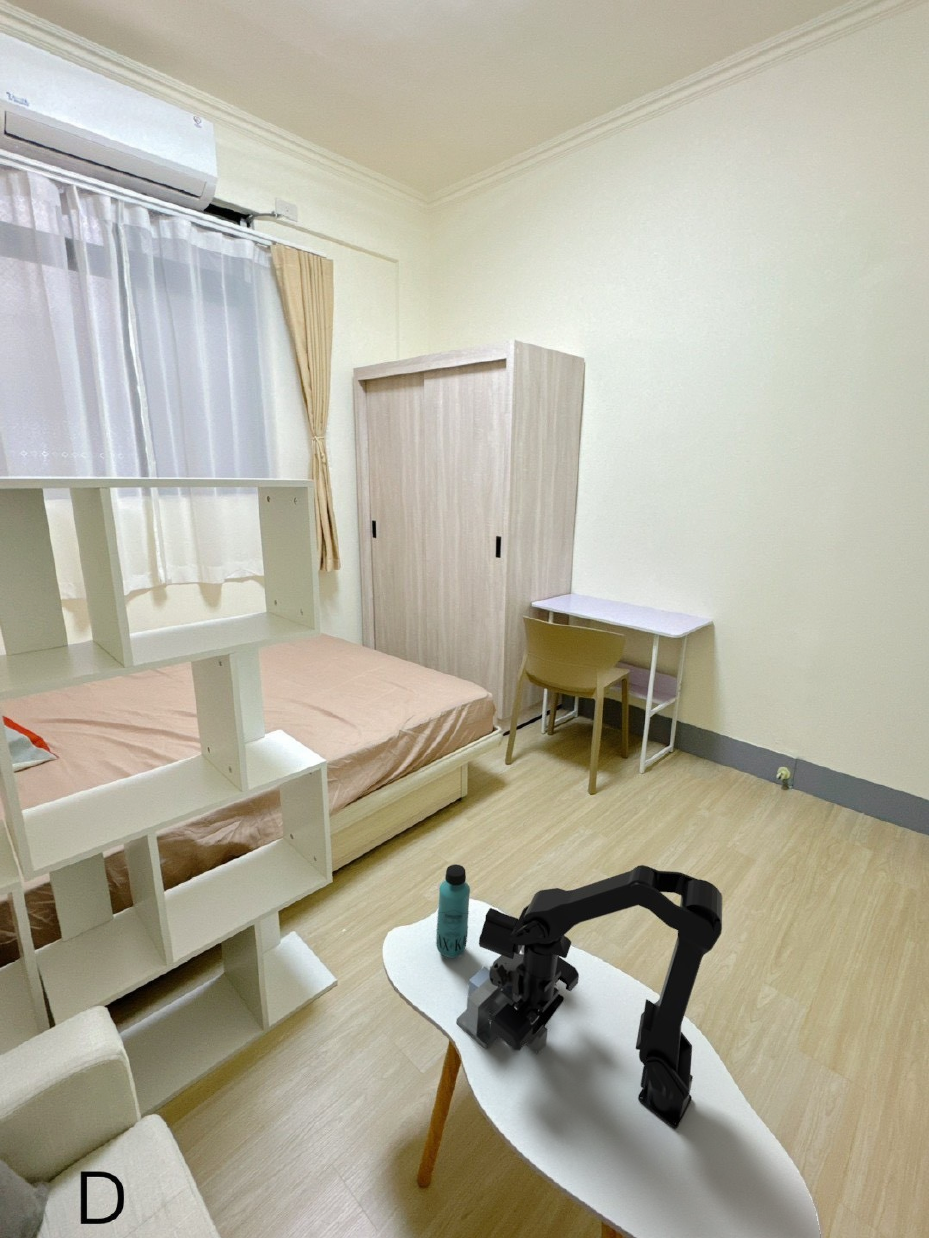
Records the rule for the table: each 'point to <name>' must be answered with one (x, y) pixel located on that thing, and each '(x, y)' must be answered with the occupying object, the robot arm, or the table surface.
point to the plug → (501, 999)
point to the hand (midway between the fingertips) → (532, 1036)
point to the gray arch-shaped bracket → (482, 1012)
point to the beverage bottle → (453, 912)
